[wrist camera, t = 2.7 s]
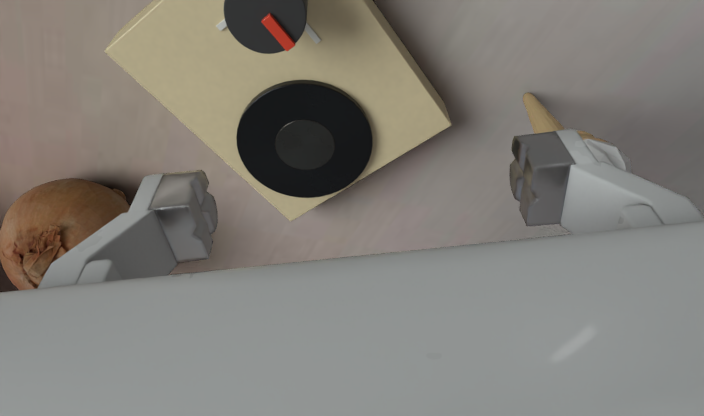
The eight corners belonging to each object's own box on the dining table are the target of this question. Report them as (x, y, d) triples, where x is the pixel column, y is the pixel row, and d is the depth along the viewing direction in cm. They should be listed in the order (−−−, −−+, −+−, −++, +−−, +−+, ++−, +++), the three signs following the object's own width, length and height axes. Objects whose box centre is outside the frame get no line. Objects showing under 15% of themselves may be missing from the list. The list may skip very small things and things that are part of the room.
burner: (208, 129, 36) (206, 135, 35) (316, 51, 32) (316, 56, 32) (296, 212, 40) (296, 218, 40) (397, 151, 37) (398, 156, 37)
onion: (72, 148, 43) (-18, 169, 33) (180, 200, 44) (123, 236, 34) (35, 249, 45) (-59, 296, 36) (138, 297, 46) (73, 357, 36)
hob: (103, 17, 34) (86, 38, 31) (283, -148, 28) (279, -139, 26) (292, 197, 43) (290, 223, 41) (451, 98, 38) (460, 122, 36)
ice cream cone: (510, 48, 36) (597, 188, 24) (583, 69, 37) (699, 212, 26) (474, 119, 39) (536, 271, 28) (542, 136, 41) (628, 288, 29)
